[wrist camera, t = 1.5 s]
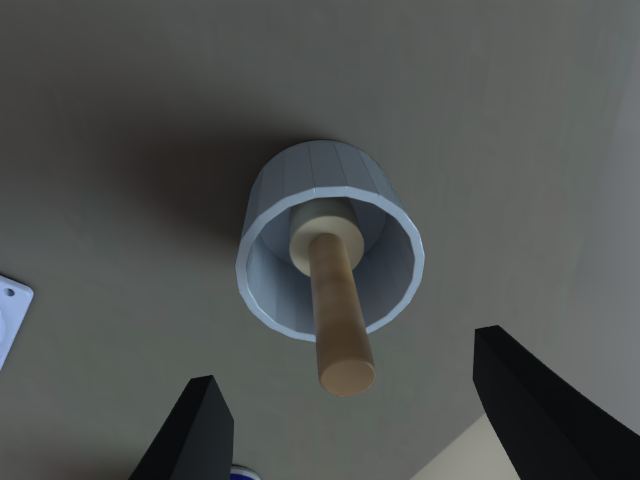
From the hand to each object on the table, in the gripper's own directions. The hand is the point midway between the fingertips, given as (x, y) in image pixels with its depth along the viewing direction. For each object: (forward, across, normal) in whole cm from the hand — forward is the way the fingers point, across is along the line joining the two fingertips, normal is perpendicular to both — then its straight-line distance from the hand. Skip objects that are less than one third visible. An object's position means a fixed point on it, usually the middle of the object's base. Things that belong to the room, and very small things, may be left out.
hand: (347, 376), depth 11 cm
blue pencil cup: (+10, 0, 0) cm, 10 cm away
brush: (+10, 0, 0) cm, 10 cm away
